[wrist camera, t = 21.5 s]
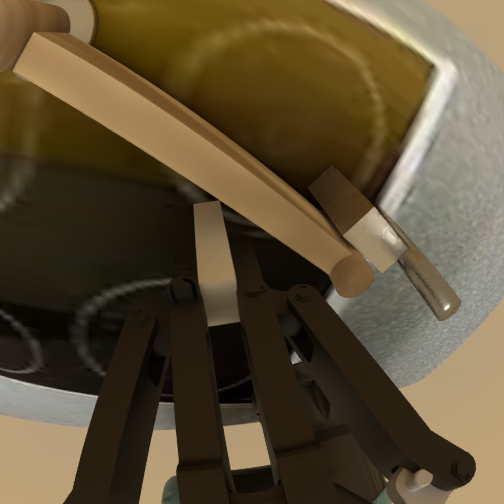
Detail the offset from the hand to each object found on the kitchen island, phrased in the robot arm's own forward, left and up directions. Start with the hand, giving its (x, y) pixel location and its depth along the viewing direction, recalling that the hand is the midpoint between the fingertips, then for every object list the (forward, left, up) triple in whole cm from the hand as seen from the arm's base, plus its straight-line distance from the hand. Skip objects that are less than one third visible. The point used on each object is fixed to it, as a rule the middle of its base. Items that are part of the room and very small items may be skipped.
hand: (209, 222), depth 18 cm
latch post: (+6, -8, -3) cm, 10 cm away
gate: (+4, +4, -2) cm, 6 cm away
